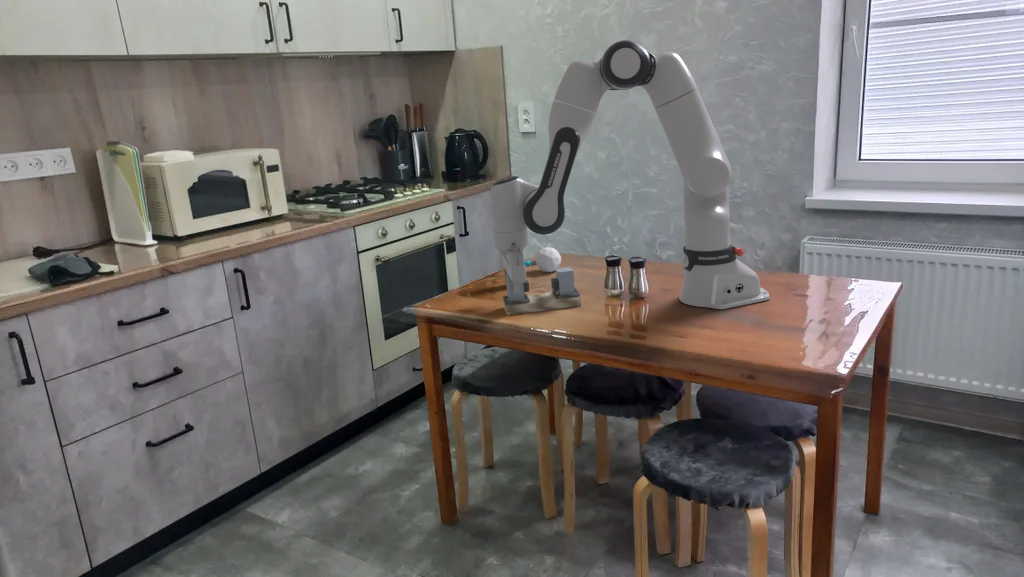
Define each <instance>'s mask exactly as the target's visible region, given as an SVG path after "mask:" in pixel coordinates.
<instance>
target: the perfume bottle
mask: <svg viewBox="0 0 1024 577" xmlns="http://www.w3.org/2000/svg"><path fill="white" fill-rule="evenodd" d="M559 252H560V251H558V250H557V249H555V248H554V247H550V246H549V247H548V246H546V247H543V248H541V249H540V250H539V251H538V253H537V255H536V256H535V260H533V259H530V260H525V261H524V262H525V268H529V267H533V266H534V267H535V266H537V267H538V268H539V270H540V271H541V272H545V273H549V272H551V273H552V272H556V269H557V268H559V267H560V266H561V263H562V256H561V254H560V253H559Z"/></svg>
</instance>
